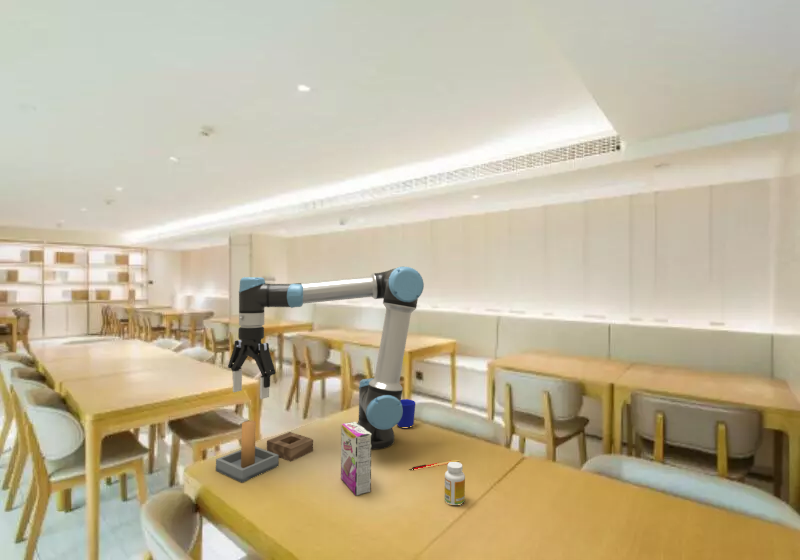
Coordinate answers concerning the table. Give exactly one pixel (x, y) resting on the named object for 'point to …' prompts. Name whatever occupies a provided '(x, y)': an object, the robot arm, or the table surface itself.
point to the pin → (248, 443)
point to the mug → (407, 413)
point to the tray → (263, 463)
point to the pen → (421, 466)
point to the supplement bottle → (454, 484)
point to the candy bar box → (356, 457)
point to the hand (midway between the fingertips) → (250, 394)
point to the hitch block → (290, 446)
